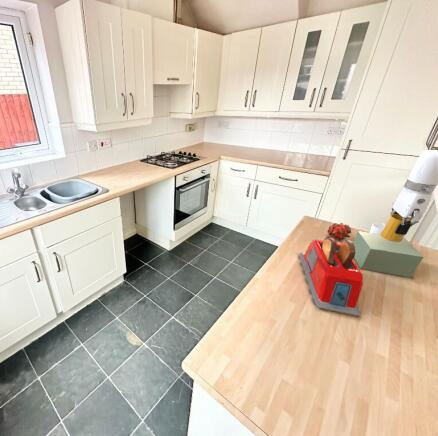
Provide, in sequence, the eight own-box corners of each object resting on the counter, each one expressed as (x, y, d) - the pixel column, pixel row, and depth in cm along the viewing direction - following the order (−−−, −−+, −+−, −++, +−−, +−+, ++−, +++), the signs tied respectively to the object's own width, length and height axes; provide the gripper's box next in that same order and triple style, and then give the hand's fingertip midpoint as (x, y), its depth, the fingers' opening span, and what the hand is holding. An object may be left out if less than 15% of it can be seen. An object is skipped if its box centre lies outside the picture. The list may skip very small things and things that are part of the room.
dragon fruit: (345, 238, 122) (328, 246, 119) (334, 224, 125) (317, 231, 122) (360, 232, 114) (342, 241, 111) (348, 217, 117) (330, 225, 114)
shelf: (393, 256, 106) (404, 237, 101) (410, 277, 94) (423, 257, 90) (349, 249, 111) (358, 231, 106) (360, 268, 99) (370, 248, 95)
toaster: (361, 318, 78) (387, 274, 69) (316, 308, 82) (335, 265, 73) (331, 259, 105) (347, 222, 96) (298, 254, 109) (310, 217, 100)
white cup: (369, 248, 111) (378, 230, 106) (360, 239, 118) (368, 221, 113) (389, 251, 109) (400, 232, 105) (379, 241, 116) (388, 223, 111)
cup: (396, 234, 98) (407, 215, 94) (404, 243, 93) (417, 223, 89) (377, 232, 100) (387, 213, 96) (384, 240, 95) (395, 220, 91)
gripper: (449, 196, 78) (420, 242, 87) (419, 179, 92) (396, 220, 101) (419, 194, 80) (393, 239, 89) (394, 177, 94) (374, 217, 103)
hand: (395, 228), depth 95 cm, fingers closed on cup, 6 cm apart
